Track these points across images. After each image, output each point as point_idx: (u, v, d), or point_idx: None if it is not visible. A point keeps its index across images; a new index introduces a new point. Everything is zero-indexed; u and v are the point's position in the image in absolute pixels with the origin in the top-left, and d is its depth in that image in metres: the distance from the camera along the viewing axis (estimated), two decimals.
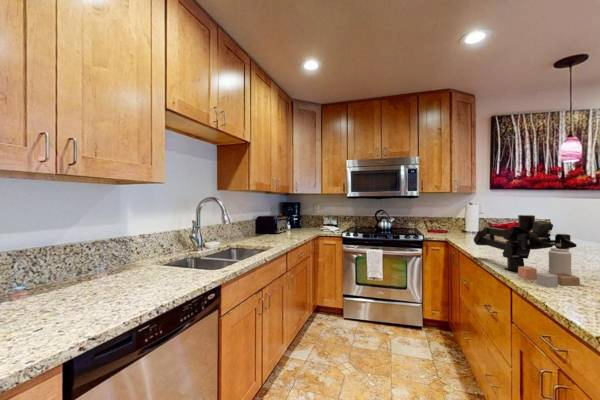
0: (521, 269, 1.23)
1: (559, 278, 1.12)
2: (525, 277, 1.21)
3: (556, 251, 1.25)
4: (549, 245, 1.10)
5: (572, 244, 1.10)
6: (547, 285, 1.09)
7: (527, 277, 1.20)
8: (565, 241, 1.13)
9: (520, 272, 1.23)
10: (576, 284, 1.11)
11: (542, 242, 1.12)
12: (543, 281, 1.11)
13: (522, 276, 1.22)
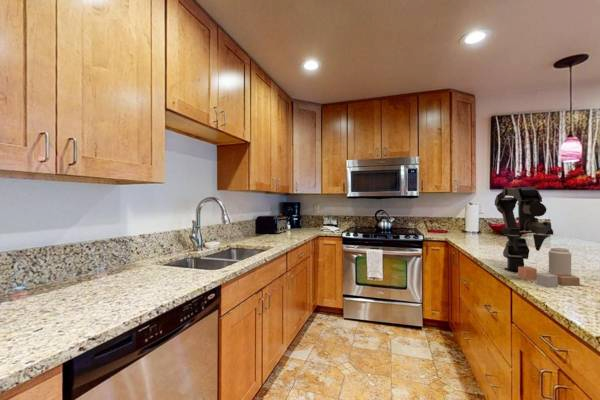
0: (521, 269, 1.23)
1: (559, 278, 1.12)
2: (525, 277, 1.21)
3: (556, 251, 1.25)
4: (515, 249, 1.22)
5: (537, 247, 1.22)
6: (547, 285, 1.09)
7: (527, 277, 1.20)
8: (539, 240, 1.21)
9: (520, 272, 1.24)
10: (576, 284, 1.11)
11: (515, 243, 1.22)
12: (543, 281, 1.11)
13: (522, 276, 1.22)
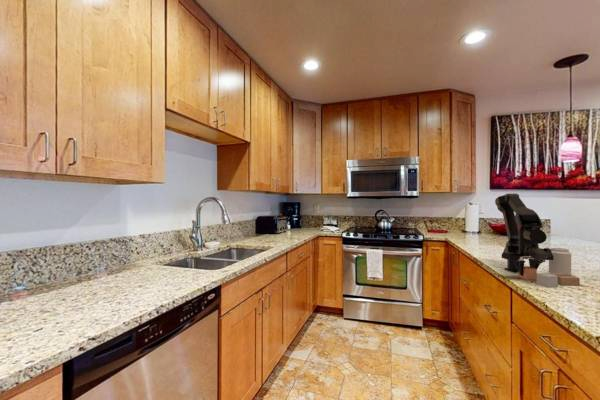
0: None
1: (558, 278, 1.12)
2: (525, 277, 1.21)
3: (556, 251, 1.25)
4: (520, 273, 1.22)
5: None
6: (547, 285, 1.09)
7: (527, 277, 1.20)
8: (534, 265, 1.22)
9: None
10: (576, 284, 1.11)
11: (520, 268, 1.22)
12: (543, 281, 1.11)
13: (522, 276, 1.22)
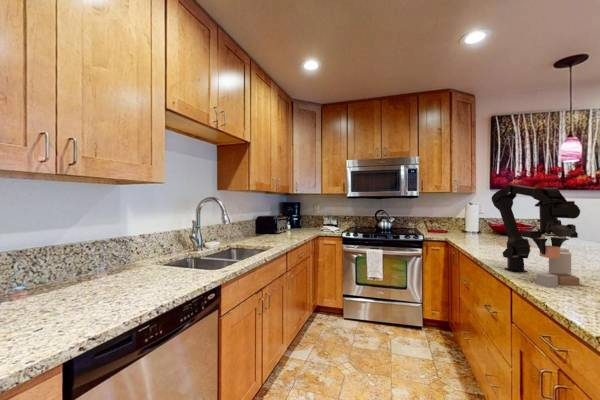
0: None
1: (558, 278, 1.12)
2: (547, 255, 1.15)
3: None
4: (542, 252, 1.17)
5: None
6: (547, 285, 1.09)
7: (549, 255, 1.14)
8: (557, 243, 1.16)
9: None
10: (576, 284, 1.11)
11: (542, 247, 1.16)
12: (543, 281, 1.11)
13: (544, 255, 1.17)
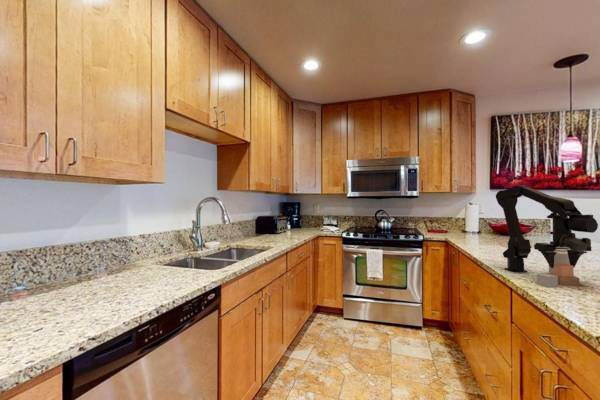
0: (556, 266, 1.14)
1: None
2: (561, 274, 1.12)
3: (556, 251, 1.25)
4: (550, 265, 1.14)
5: (572, 264, 1.14)
6: (547, 285, 1.09)
7: (563, 274, 1.12)
8: (574, 256, 1.13)
9: (554, 269, 1.15)
10: (575, 284, 1.10)
11: (550, 260, 1.14)
12: (543, 281, 1.11)
13: (557, 273, 1.14)
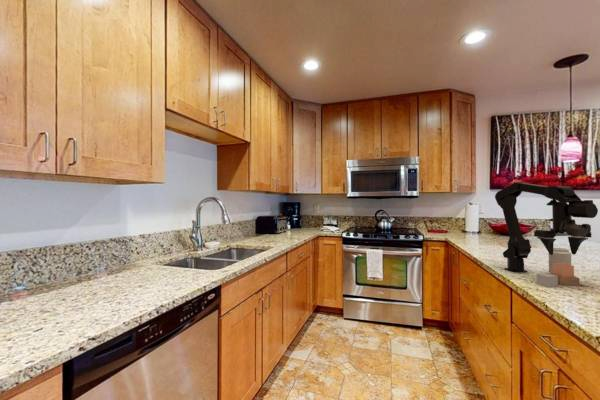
0: (556, 266, 1.15)
1: None
2: (561, 274, 1.12)
3: (556, 251, 1.25)
4: (550, 252, 1.14)
5: (573, 251, 1.14)
6: (547, 285, 1.09)
7: (563, 274, 1.12)
8: (575, 243, 1.13)
9: (554, 269, 1.15)
10: (575, 284, 1.10)
11: (549, 247, 1.14)
12: (543, 281, 1.11)
13: (557, 273, 1.14)
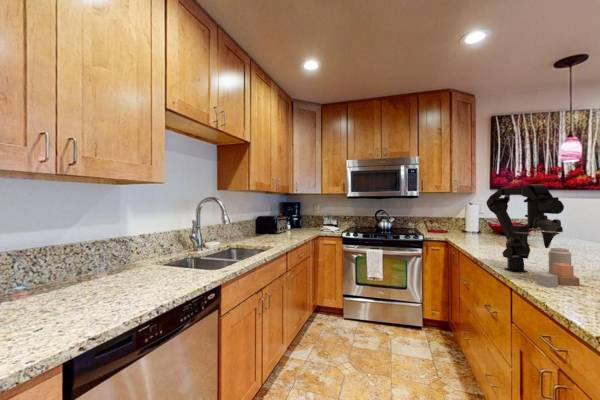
0: (556, 266, 1.15)
1: None
2: (561, 274, 1.12)
3: (556, 251, 1.25)
4: (524, 246, 1.22)
5: (546, 245, 1.22)
6: (547, 285, 1.09)
7: (563, 274, 1.12)
8: (548, 237, 1.21)
9: (554, 269, 1.15)
10: (575, 284, 1.10)
11: (524, 241, 1.22)
12: (543, 281, 1.11)
13: (557, 273, 1.14)
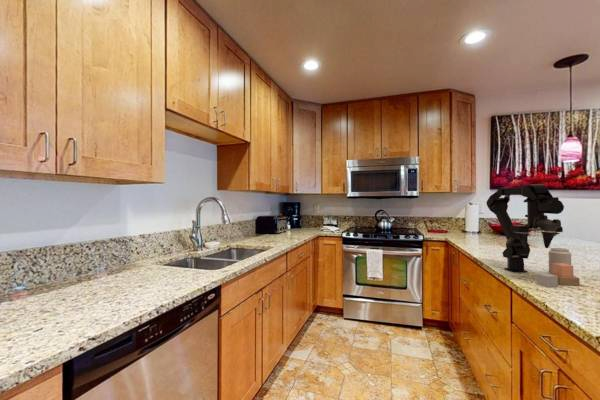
0: (556, 266, 1.14)
1: None
2: (561, 274, 1.12)
3: (556, 251, 1.25)
4: (524, 246, 1.22)
5: (546, 245, 1.22)
6: (547, 285, 1.09)
7: (563, 274, 1.12)
8: (548, 237, 1.21)
9: (554, 269, 1.15)
10: (575, 284, 1.10)
11: (524, 241, 1.22)
12: (543, 281, 1.11)
13: (557, 273, 1.14)
